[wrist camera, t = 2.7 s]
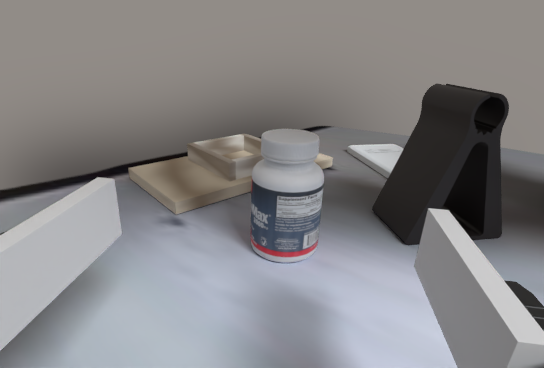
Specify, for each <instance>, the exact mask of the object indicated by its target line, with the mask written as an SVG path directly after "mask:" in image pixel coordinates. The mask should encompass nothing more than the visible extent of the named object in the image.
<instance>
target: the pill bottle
mask: <svg viewBox="0 0 544 368" xmlns="http://www.w3.org/2000/svg"><path fill="white" fill-rule="evenodd" d="M318 154H319V136H318V135H316V134H314V133H312V132H308V131H304V130H297V129H275V130H270V131H266V132H265V133H263V134H262V139H261V155H262V156H263V157H264V159H263V160H261V161H259V162H258V163H257V164H256V165H255V166H254V168H253V171H252V184H251V191H252V194H251V245H252V248H253V249H254V251H255V252H256V253H257V254H259V255H260V256H261V257H263V258H265V259H268V260H271V261H275V262H281V263H292V262H298V261H302V260H304V259H307V258H308V257H310V256H311V255H312V254H313V253H314V252H315V250H316V248H317V243H318V235H319V225H320V214H321V205H322V196H323V187H324V173H323V170H322V169H321V167H320V166H319V165H318V164H316V163H315V162H314V160H315V159H316V158H317V155H318Z"/></svg>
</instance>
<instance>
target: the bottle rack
mask: <svg viewBox="0 0 544 368" xmlns="http://www.w3.org/2000/svg"><path fill="white" fill-rule="evenodd" d="M187 148H188V156H187V157H182V158H177V159H172V160H167V161H162V162H157V163H152V164H147V165H142V166H137V167H132V168H128V169H129V176H130V179H131V180H133V181H134V182H135V183H136V184H138V185H139V186H140V187H142V188H143V189H144V190H145V191H147V192H148V193H149V194H150V195H152V196H153V197H154V198H156V199H157V200H158V201H159V202H161V203H162V204H163V205H164V206H166V207H167V208H168V209H169V210H171V211H172V212H173V213H175V214H176V215H177V214H180V213H183V212H186V211H190V210H193V209H196V208H199V207H202V206H206V205H209V204H212V203H215V202H219V201H222V200H225V199H228V198H231V197H235V196H238V195H241V194H244V193H248V192H251V184H252V171H253V168H254V166H255V165H256V164H257V163H258V162H259V161H261V160H263V159H264V157H263V156H262V155H261V139H259V138H256V137H253V136H251V135H248V134H240V135H234V136H228V137H223V138H217V139H211V140H205V141H200V142H194V143H189V144H187ZM332 160H333V157H329V156H326V155H323V154H320V153H319V154H318V155H317V158H316V159H315V160H314V162H315V163H316V164H318V165H319V166H320V167H321V169H325V168H328V167H331V166H332Z"/></svg>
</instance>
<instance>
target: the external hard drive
mask: <svg viewBox="0 0 544 368" xmlns="http://www.w3.org/2000/svg"><path fill="white" fill-rule="evenodd" d="M402 151H403V148H401V147H399V146H397V145H395V144H377V145H351V146H348V150H347V152H348V153H350V154H351V155H353V156H354V157H356V158H357V159H359V160H360V161H362V162H363V163H365V164H366V165H368V166H369V167H371V168H372V169H374V170H375V171H377V172H378V173H380V174H382V175H383V176H385V177H386V178H389V176H390V174H391V172H392V170H393V168H394V166H395V164H396V162H397V161H398V159H399V157H400V155H401V153H402Z"/></svg>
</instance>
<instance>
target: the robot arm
mask: <svg viewBox="0 0 544 368" xmlns="http://www.w3.org/2000/svg"><path fill="white" fill-rule="evenodd" d="M121 235H122V230H121V223H120V215H119V208H118V201H117V194H116V187H115V180H114V179H110V178H99V177H98V178H96V179H94V180H93V181H91V182H89V183H87V184H86V185H84V186H82V187H81V188H79V189H77V190H76V191H74V192H72V193H71V194H69V195H67V196H66V197H64V198H62V199H61V200H59V201H57V202H56V203H54V204H52V205H51V206H49V207H47V208H45V209H44V210H42V211H40V212H39V213H37V214H35V215H34V216H32V217H30V218H29V219H27V220H25V221H24V222H22V223H20V224H19V225H17V226H15V227H14V228H12V229H10V230H9V231H6V232H3V233H1V234H0V350H2V349H3V348H4V347H5V346H6V345H7V344H8V343H9V342H10V341H11V340H12V339H13V338H14V337H15V336H16V335H17V334H18V333H19V332H20V331H21V330H22V329H23V328H25V327H26V326H27V325H28V324H29V323H30V322H31V321H32V320H33V319H34V318H35V317H36V316H37V315H38V314H39V313H40V312H41V311H42V310H43V309H44V308H45V307H46V306H48V305H49V304H50V303H51V302H52V301H53V300H54V299H55V298H56V297H57V296H58V295H59V294H60V293H61V292H62V291H63V290H64V289H65V288H66V287H67V286H68V285H69V284H71V283H72V282H73V281H74V280H75V279H76V278H77V277H78V276H79V275H80V274H81V273H82V272H83V271H84V270H85V269H86V268H87V267H88V266H89V265H90V264H91V263H92V262H94V261H95V260H96V259H97V258H98V257H99V256H100V255H101V254H102V253H103V252H104V251H105V250H106V249H107V248H108V247H109V246H110V245H111V244H112V243H113V242H114V241H115V240H117V239H118V238H119V237H120V236H121ZM414 267H415V269H416V272H417V274H418V276H419V279H420V281H421V283H422V286H423V288H424V290H425V293H426V295H427V297H428V300H429V302H430V304H431V307H432V309H433V311H434V314H435V316H436V318H437V321H438V323H439V325H440V328H441V330H442V332H443V335H444V337H445V339H446V341H447V344H448V346H449V348H450V351H451V353H452V355H453V358H454V360H455V362H456V365H457V367H458V368H544V306H543V305H542V304H541V303H540V302H539V301H538V299H537V298H536V297H535V296H534V295H533V294H532V293H531V292H529V291H528V290H527V289H525V288H524V287H522V286H521V285H520V284H518V283H517V282H512V281H504V280H503V279H502V277H501V276H500V275H499V274H498V272H497V271H496V270H495V269H494V267H493V266H492V265H491V263H490V262H489V261H488V260H487V258H486V257H485V256H484V255H483V253H482V252H481V251H480V249H479V248H478V247H477V246H476V244H475V243H474V242H473V241H472V239H471V238H470V237H469V236H468V234H467V233H466V232H465V230H464V229H463V228H462V227H461V225H460V224H459V223H458V222H457V220H456V219H455V218H454V216H453V215H452V214H451V213H450V211H449V210H443V209H432V208H428V211H427V215H426V219H425V223H424V228H423V232H422V236H421V240H420V244H419V248H418V252H417V256H416V260H415V265H414Z"/></svg>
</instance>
